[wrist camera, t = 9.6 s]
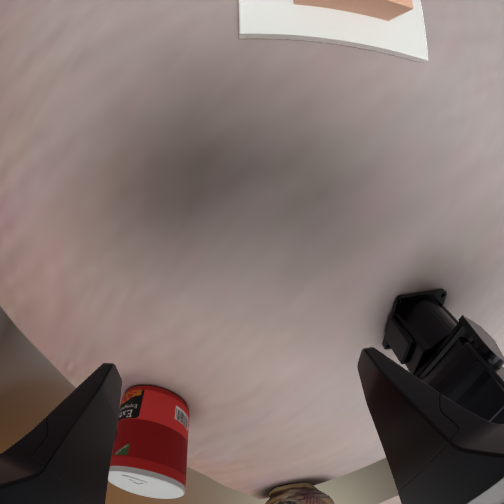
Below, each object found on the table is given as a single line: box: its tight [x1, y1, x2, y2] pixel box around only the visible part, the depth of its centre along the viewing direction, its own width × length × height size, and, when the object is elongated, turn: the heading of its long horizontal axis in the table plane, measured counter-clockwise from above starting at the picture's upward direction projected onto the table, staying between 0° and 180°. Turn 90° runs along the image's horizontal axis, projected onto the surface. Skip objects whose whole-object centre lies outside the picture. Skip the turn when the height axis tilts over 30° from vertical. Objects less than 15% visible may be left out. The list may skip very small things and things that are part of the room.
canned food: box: [108, 386, 189, 499], centre depth 24 cm, size 8×8×11 cm
